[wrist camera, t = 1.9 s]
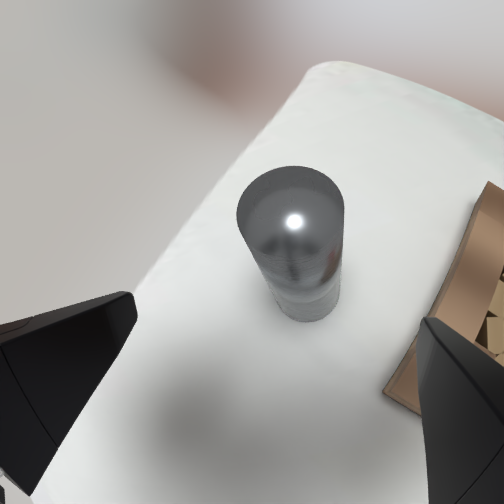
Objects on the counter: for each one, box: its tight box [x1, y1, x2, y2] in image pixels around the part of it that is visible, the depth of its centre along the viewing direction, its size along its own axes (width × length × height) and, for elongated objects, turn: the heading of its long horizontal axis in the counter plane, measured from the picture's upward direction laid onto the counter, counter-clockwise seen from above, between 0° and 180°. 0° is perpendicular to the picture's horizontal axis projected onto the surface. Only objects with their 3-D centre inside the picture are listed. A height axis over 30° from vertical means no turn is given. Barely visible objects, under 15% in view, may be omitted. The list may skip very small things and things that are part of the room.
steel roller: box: [236, 166, 344, 322], centre depth 17 cm, size 4×4×10 cm
